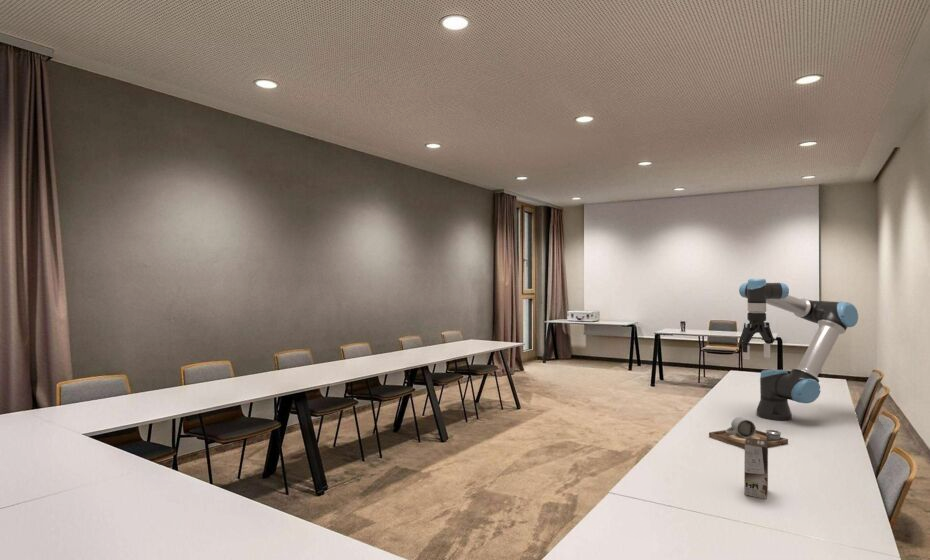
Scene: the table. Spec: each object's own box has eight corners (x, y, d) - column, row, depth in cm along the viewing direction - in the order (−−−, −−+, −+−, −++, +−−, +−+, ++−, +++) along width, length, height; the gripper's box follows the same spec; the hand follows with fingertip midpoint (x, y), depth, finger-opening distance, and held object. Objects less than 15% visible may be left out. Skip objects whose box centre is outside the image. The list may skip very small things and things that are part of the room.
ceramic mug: (748, 432, 228) (747, 415, 228) (756, 438, 220) (755, 420, 220) (722, 432, 229) (722, 414, 229) (729, 438, 221) (729, 419, 221)
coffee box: (767, 499, 162) (767, 447, 162) (743, 495, 166) (743, 444, 166) (768, 489, 170) (768, 439, 170) (746, 485, 173) (745, 436, 173)
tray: (745, 431, 235) (745, 426, 235) (788, 444, 216) (787, 439, 216) (709, 437, 226) (709, 432, 226) (750, 451, 208) (750, 446, 208)
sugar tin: (771, 440, 222) (771, 429, 222) (783, 443, 217) (783, 432, 217) (763, 441, 219) (763, 430, 219) (774, 445, 215) (774, 434, 215)
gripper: (767, 311, 249) (768, 355, 249) (730, 312, 239) (730, 359, 239) (783, 312, 242) (783, 357, 242) (744, 313, 232) (744, 361, 232)
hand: (756, 358), depth 241 cm, fingers open, 13 cm apart
